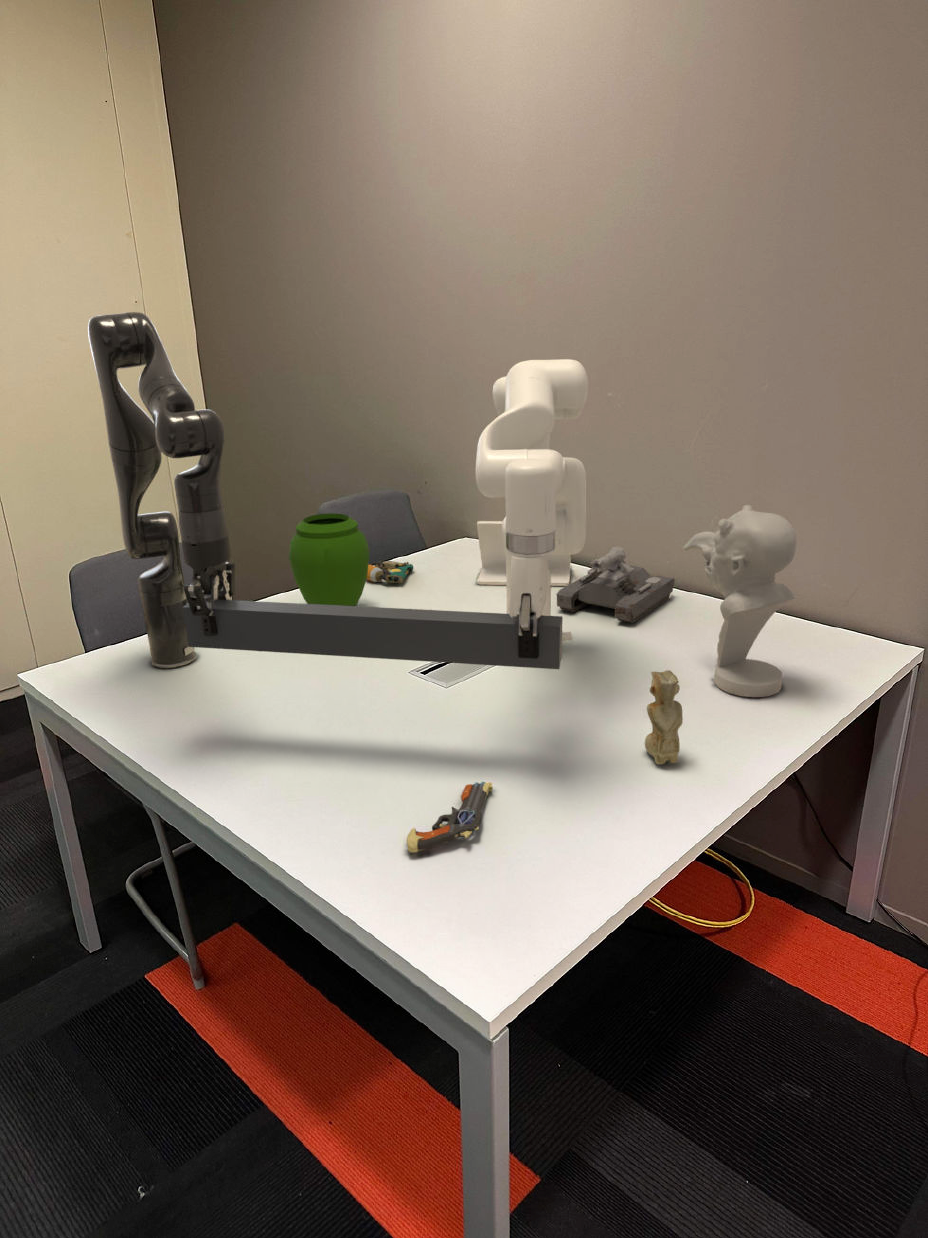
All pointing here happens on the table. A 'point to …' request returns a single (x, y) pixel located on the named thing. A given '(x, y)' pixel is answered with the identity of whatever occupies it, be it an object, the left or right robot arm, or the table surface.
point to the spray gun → (389, 571)
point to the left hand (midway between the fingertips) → (217, 629)
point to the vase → (329, 559)
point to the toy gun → (454, 820)
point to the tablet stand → (496, 560)
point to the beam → (375, 633)
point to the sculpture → (664, 718)
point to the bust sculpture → (747, 593)
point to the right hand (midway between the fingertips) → (530, 649)
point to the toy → (616, 588)
